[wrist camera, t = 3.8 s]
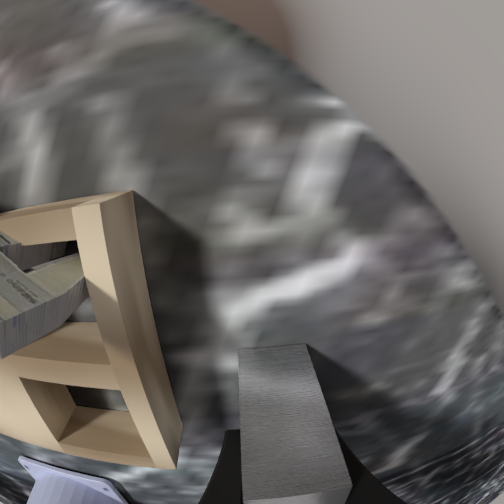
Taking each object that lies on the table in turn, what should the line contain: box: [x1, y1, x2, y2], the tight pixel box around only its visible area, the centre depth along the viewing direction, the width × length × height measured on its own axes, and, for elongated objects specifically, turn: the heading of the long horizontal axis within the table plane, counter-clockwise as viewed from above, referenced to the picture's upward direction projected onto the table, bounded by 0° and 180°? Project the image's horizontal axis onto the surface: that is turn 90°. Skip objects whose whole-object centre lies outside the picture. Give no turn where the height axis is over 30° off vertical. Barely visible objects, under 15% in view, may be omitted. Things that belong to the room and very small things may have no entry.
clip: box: [238, 344, 353, 504], centre depth 9 cm, size 6×2×6 cm, turn 3°
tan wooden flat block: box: [0, 190, 183, 469], centre depth 9 cm, size 10×12×2 cm
